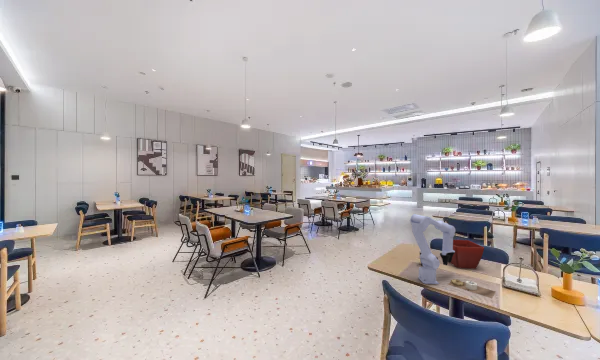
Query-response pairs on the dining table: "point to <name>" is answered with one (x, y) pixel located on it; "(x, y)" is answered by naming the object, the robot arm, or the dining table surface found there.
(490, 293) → the walnut gear board
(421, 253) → the coffee mug
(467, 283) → the cream gear ring
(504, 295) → the dining table surface
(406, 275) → the dining table surface
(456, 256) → the plant pot
